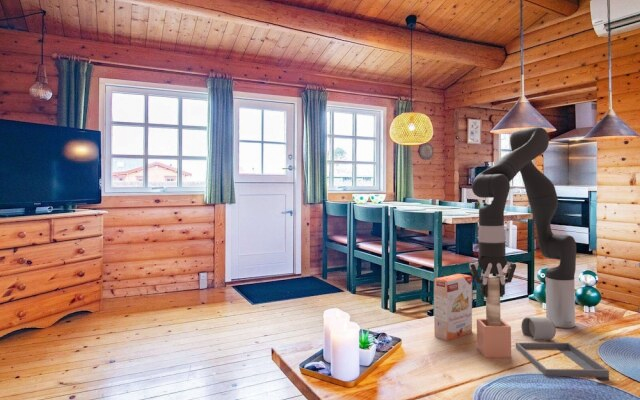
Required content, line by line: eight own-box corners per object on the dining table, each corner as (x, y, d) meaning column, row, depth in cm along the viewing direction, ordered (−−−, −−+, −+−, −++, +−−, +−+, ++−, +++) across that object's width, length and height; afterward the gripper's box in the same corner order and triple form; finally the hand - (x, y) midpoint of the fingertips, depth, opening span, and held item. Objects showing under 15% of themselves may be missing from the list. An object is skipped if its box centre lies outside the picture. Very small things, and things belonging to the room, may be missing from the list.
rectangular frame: (515, 350, 129) (515, 342, 129) (569, 350, 128) (568, 342, 128) (545, 379, 109) (545, 369, 109) (609, 380, 108) (608, 370, 108)
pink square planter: (477, 350, 130) (476, 318, 130) (502, 350, 129) (501, 318, 129) (484, 360, 122) (484, 326, 122) (511, 360, 122) (510, 326, 121)
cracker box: (448, 344, 136) (447, 280, 135) (433, 339, 140) (432, 278, 140) (473, 334, 144) (472, 275, 144) (458, 330, 149) (457, 272, 148)
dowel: (484, 327, 128) (483, 276, 127) (498, 327, 127) (497, 275, 127) (488, 331, 124) (487, 278, 123) (502, 331, 123) (501, 278, 123)
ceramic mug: (558, 342, 135) (557, 319, 135) (535, 344, 134) (534, 320, 134) (536, 332, 145) (535, 310, 145) (515, 334, 144) (514, 312, 144)
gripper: (511, 238, 128) (512, 293, 129) (464, 239, 129) (465, 293, 130) (521, 241, 121) (522, 299, 121) (471, 242, 122) (472, 299, 122)
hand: (492, 296), depth 125 cm, fingers closed on dowel, 4 cm apart
